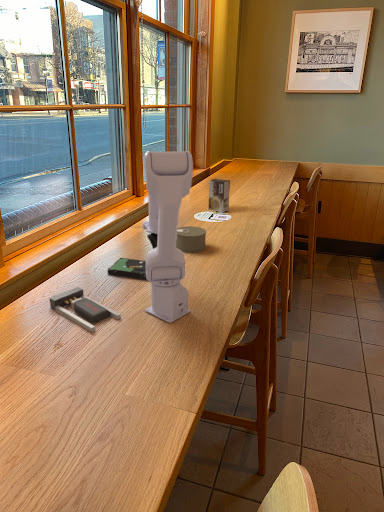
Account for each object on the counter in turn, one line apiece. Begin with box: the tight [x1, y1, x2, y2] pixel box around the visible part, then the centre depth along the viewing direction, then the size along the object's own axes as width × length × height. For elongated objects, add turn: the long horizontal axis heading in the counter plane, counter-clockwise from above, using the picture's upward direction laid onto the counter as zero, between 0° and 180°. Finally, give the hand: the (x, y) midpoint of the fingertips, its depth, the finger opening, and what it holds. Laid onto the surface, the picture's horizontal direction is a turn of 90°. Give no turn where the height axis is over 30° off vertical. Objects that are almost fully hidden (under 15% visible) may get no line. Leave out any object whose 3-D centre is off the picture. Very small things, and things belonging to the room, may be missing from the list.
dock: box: [48, 286, 122, 333], centre depth 102 cm, size 18×9×3 cm, turn 50°
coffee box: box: [208, 178, 231, 213], centre depth 200 cm, size 9×6×16 cm
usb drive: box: [70, 298, 111, 325], centre depth 103 cm, size 5×12×3 cm, turn 47°
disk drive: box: [107, 257, 148, 281], centre depth 128 cm, size 10×3×15 cm
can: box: [176, 226, 207, 254], centre depth 149 cm, size 12×12×7 cm
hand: (159, 257), depth 115 cm, fingers closed
